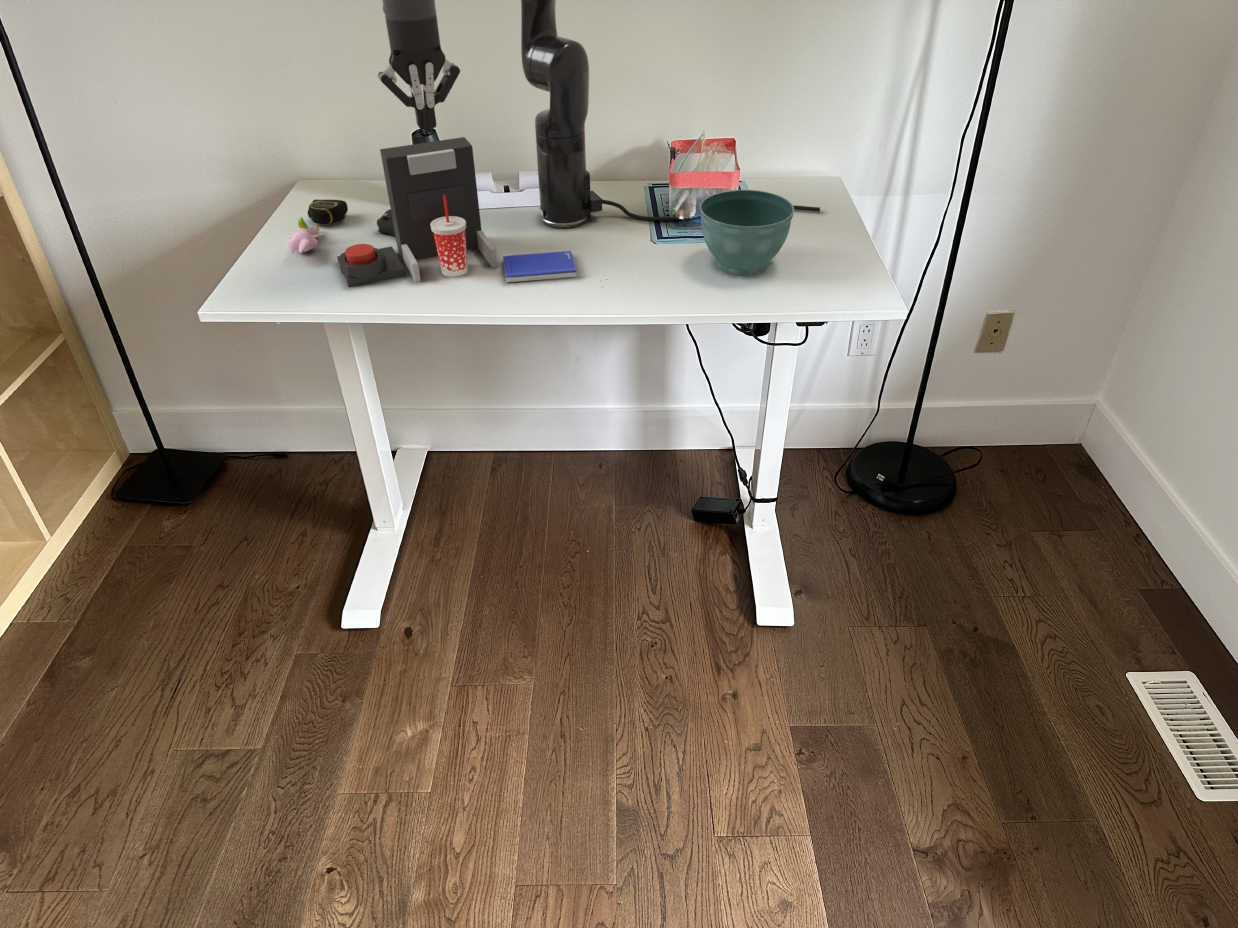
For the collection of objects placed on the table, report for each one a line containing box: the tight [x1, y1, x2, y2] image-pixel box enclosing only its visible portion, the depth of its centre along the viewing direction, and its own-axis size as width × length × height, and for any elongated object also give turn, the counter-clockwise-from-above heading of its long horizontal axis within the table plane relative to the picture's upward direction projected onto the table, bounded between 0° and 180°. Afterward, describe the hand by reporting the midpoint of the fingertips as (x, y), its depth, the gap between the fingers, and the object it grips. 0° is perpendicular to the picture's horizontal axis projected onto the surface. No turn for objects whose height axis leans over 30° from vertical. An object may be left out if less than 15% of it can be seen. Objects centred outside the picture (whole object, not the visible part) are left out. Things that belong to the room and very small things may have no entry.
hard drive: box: [502, 250, 578, 283], centre depth 154 cm, size 2×8×12 cm
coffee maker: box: [379, 136, 498, 283], centre depth 153 cm, size 15×14×19 cm
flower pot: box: [699, 189, 795, 276], centre depth 153 cm, size 16×16×11 cm
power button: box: [344, 243, 376, 264], centre depth 151 cm, size 5×5×2 cm
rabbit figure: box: [286, 216, 324, 255], centre depth 160 cm, size 6×6×15 cm
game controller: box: [376, 208, 396, 237], centre depth 168 cm, size 10×5×6 cm
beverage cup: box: [430, 194, 469, 278], centre depth 150 cm, size 6×6×14 cm
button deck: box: [336, 246, 406, 288], centre depth 154 cm, size 10×10×4 cm
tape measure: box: [307, 199, 349, 226], centre depth 171 cm, size 7×7×4 cm
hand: (427, 131), depth 139 cm, fingers closed
